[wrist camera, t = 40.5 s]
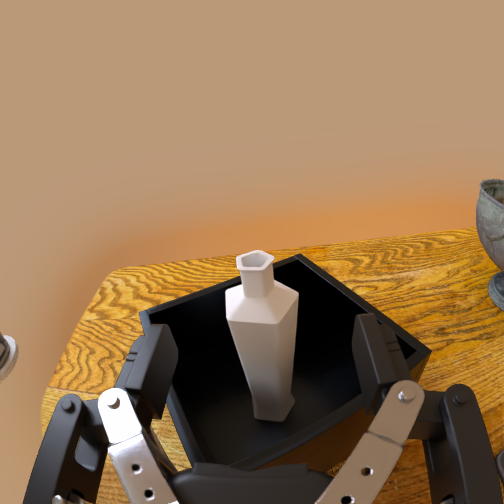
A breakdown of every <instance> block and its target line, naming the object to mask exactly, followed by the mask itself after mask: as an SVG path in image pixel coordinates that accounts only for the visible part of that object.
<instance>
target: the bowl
mask: <svg viewBox="0 0 504 504" xmlns="http://www.w3.org/2000/svg"><path fill="white" fill-rule="evenodd" d="M476 225H477V230H478V235H479V238H480V241H481V243H482V245H483V247H484V249H485V250H486V252H487V254H488V256H489V257H490V259H491V260H492V261H493V262H494V263H495V264H496V265H497V266H498V267H499V268H500V269H501V270H502V272H498V273H496V274H495V275H494V276H492V278H491V280H490V281H489V285H488V293H489V295H490V298H491V299H492V301H493V302H494V303H495V304H496V305H497V306H498V307H499V308H500V309H501V310H502V311H504V180H499V179H491V180H490V179H488V180H483V181H482V182H481V183H480V194H479V199H478V201H477V207H476Z"/></svg>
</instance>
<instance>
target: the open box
mask: <svg viewBox="0 0 504 504" xmlns="http://www.w3.org/2000/svg"><path fill="white" fill-rule="evenodd" d="M272 265H273V276H274V280H275V281H277V282H279V283H281V284H283V285H285V286H287V287H289V288H291V289H293V290H295V291H297V292H298V293H299V298H298V313H297V327H296V339H295V351H294V362H293V373H292V383H291V394H292V396H293V398H294V400H295V403H294V405H293V406H292V408H291V410H290V412H289V413H288V415H287V417H286V418H285V420H284V421H282V422H277V421H268V420H260V419H255V417H254V411H253V403H252V393H251V390H250V387H249V384H248V382H247V379H246V376H245V373H244V370H243V367H242V364H241V361H240V358H239V355H238V352H237V349H236V346H235V343H234V340H233V337H232V334H231V330H230V327H229V324H228V321H227V318H226V294H225V292H226V290H227V289H230V288H233V287H236V286H238V285H241V284H242V281H241V276H238V277H235V278H233V279H230V280H227V281H224V282H222V283H219V284H216V285H213V286H211V287H208V288H205V289H202V290H200V291H197V292H194V293H191V294H189V295H186V296H183V297H180V298H177V299H175V300H172V301H169V302H166V303H163V304H161V305H158V306H155V307H152V308H149V309H147V310H144V311H141V312H139V316H140V320H141V324H142V328H143V332H144V335H145V334H146V332H147V330H148V327H149V326H150V325H151V324H167V325H168V326H169V328H170V331H171V333H172V336H173V338H174V341H175V343H176V346H177V348H178V361H177V365H176V368H175V372H174V375H173V379H172V382H171V386H170V389H169V393H168V396H167V400H166V404H167V407H168V410H169V412H170V415H171V418H172V420H173V423H174V426H175V428H176V431H177V433H178V436H179V438H180V440H181V443H182V445H183V448H184V450H185V452H186V455H187V457H188V459H189V461H190V464H191V466H192V468H193V466H194V462H201V463H213V464H222V465H226V466H229V467H233V468H237V469H240V470H244V471H255V470H260V469H264V468H268V467H273V466H277V465H288V464H304V463H308V469H312V470H317V471H321V472H323V473H325V472H327V471H328V470H330V469H331V468H333V467H335V466H336V465H338V464H339V463H341V462H342V461H344V460H345V459H347V458H348V457H349V456H350V455H351V453H352V452H353V450H354V449H355V447H356V446H357V444H358V443H359V441H360V440H361V438H362V436H363V435H364V433H365V432H366V431H367V430H368V428H369V427H370V425H371V423H372V422H373V420H374V418H375V416H374V415H370V416H367V415H366V410H365V406H364V401H363V396H362V391H361V387H360V382H359V378H358V374H357V369H356V365H355V361H354V357H353V352H352V336H353V330H354V323H355V317H356V315H359V314H368V313H374V314H375V316H376V319H377V322H378V324H387V325H388V326H389V327H390V328H391V329H392V330H393V331H394V333H395V335H396V338H397V340H398V343H399V345H400V348H401V351H402V353H403V356H404V358H405V361H406V364H407V366H408V369H409V372H410V375H411V377H412V380H413V381H414V382H416V383H418V381H419V379H420V376H421V374H422V372H423V370H424V368H425V366H426V364H427V361H428V359H429V357H430V355H431V352H432V350H430V349H429V348H428V347H426V346H425V345H424V344H422V343H421V342H420V341H419V340H417V339H416V338H415V337H413V336H412V335H411V334H409V333H408V332H407V331H405V330H404V329H403V328H401V327H400V326H399V325H398V324H396V323H395V322H394V321H392V320H391V319H390V318H388V317H387V316H386V315H384V314H383V313H382V312H380V311H379V310H378V309H376V308H375V307H373V306H372V305H371V304H369V303H368V302H367V301H365V300H364V299H363V298H361V297H360V296H359V295H357V294H356V293H355V292H353V291H352V290H350V289H349V288H348V287H346V286H345V285H344V284H342V283H341V282H339V281H338V280H337V279H335V278H334V277H333V276H331V275H330V274H328V273H327V272H326V271H324V270H323V269H322V268H320V267H319V266H317V265H316V264H315V263H313V262H312V261H310V260H309V259H308V258H306V257H305V256H303V255H302V254H301V253H300V254H297V255H294V256H292V257H289V258H286V259H284V260H281V261H278V262H276V263H273V264H272Z"/></svg>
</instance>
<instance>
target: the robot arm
mask: <svg viewBox="0 0 504 504" xmlns="http://www.w3.org/2000/svg"><path fill="white" fill-rule="evenodd" d="M352 352H353V357H354V361H355V365H356V369H357V374H358V378H359V382H360V387H361V391H362V396H363V401H364V406H365V410H366V415H367V416H370V415H374V416H375V418H374V420H373V422H372V423H371V425H370V427H369V428H368V430H367V431H366V432H365V433H364V435H363V436H362V438H361V440H360V441H359V443H358V444H357V446H356V447H355V449H354V450H353V452H352V453H351V455H350V456H349V458H348V459H347V461H346V462H345V464H344V465H343V466H342V468H341V469H340V471H339V472H338V473H337V475H336V476H335V478H333V477H332V476H330V475H328V474H326V473H323V472H321V471H317V470H312V469H308V463H304V464H288V465H277V466H273V467H268V468H264V469H260V470H255V471H244V470H240V469H237V468H233V467H229V466H226V465H222V464H213V463H201V462H194V466H193V468H190V469H185V470H182V471H179V472H178V471H177V469H176V468H175V466H174V465H173V464H172V462H171V461H170V460H169V458H168V456H167V455H166V453H165V451H164V449H163V447H162V446H161V444H160V442H159V440H158V438H157V436H156V434H155V432H154V430H153V428H152V427H151V422H152V419H159V420H161V418H162V415H163V411H164V407H165V404H166V400H167V396H168V393H169V389H170V386H171V382H172V379H173V375H174V372H175V368H176V365H177V361H178V348H177V346H176V343H175V341H174V338H173V336H172V333H171V331H170V328H169V326H168V325H167V324H151V325H150V326H149V327H148V330H147V332H146V334H145V335H141V336H140V337H139V338H138V339H137V340H136V341H135V342H134V343H133V345H132V347H131V349H130V351H129V354H128V356H127V358H126V361H125V363H124V365H123V367H122V370H121V372H120V374H119V377H118V379H117V382H116V384H115V386H114V388H112V389H109V390H107V391H105V392H104V393H103V394H102V395H101V396H100V398H99V399H94V400H87V401H82V400H81V399H80V397H79V396H77V395H76V394H67V395H65V396H63V397H62V398H61V399H60V400H59V401H58V403H57V405H56V408H55V410H54V412H53V415H52V417H51V420H50V422H49V425H48V427H47V430H46V433H45V435H44V438H43V441H42V444H41V446H40V449H39V452H38V455H37V458H36V461H35V464H34V467H33V470H32V473H31V476H30V479H29V483H28V486H27V490H26V493H25V497H24V500H23V504H95V503H96V499H97V494H98V489H99V485H100V481H101V476H102V472H103V468H104V464H105V460H106V456H107V452H109V455H110V458H111V460H112V463H113V465H114V468H115V470H116V473H117V475H118V477H119V480H120V482H121V484H122V487H123V489H124V491H125V493H126V495H127V497H128V500H129V502H130V504H372V502H373V501H374V499H375V498H376V496H377V495H378V493H379V491H380V490H381V488H382V487H383V485H384V483H385V482H386V480H387V478H388V476H389V475H390V473H391V471H392V469H393V468H394V466H395V464H396V462H397V460H398V459H399V457H400V455H401V453H402V451H403V448H404V443H405V441H406V439H420V440H422V442H423V448H424V453H425V459H426V465H427V471H428V478H429V485H430V492H431V501H432V504H503V498H502V493H501V487H500V482H499V477H498V472H497V468H496V464H495V459H494V455H493V452H492V448H491V444H490V440H489V437H488V434H487V430H486V427H485V424H484V421H483V417H482V414H481V411H480V408H479V406H478V403H477V400H476V397H475V394H474V392H473V391H472V390H471V389H470V388H469V387H468V386H466V385H463V384H455V385H452V386H450V387H449V388H448V389H447V390H446V392H438V391H427V390H424V389H422V387H421V386H420V385H419V384H417V383H416V382H414V381H413V380H412V377H411V375H410V372H409V369H408V366H407V364H406V361H405V358H404V356H403V353H402V351H401V348H400V345H399V343H398V340H397V338H396V335H395V333H394V331H393V330H392V329H391V328H390V327H389V326H388V325H387V324H378V322H377V319H376V316H375V314H374V313H368V314H359V315H356V317H355V323H354V330H353V336H352ZM9 353H10V345H9V343H8V342H7V340H6V339H5V338H4V337H3V335H2V334H1V332H0V369H1V368H2V367H3V365H4V364H5V362H6V361H7V359H8V356H9ZM79 437H80V439H79ZM78 441H79V442H78ZM77 444H78V445H77ZM76 447H77V448H76ZM75 450H76V452H75Z"/></svg>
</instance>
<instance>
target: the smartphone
mask: <svg viewBox="0 0 504 504" xmlns="http://www.w3.org/2000/svg"><path fill="white" fill-rule="evenodd" d="M495 464H496V468H497V472H498V474H499V476H500V478H501V481H502V483H503V485H504V450H502V451H501V452H500V453H499V454H498V455H497V456H496V459H495Z"/></svg>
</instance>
